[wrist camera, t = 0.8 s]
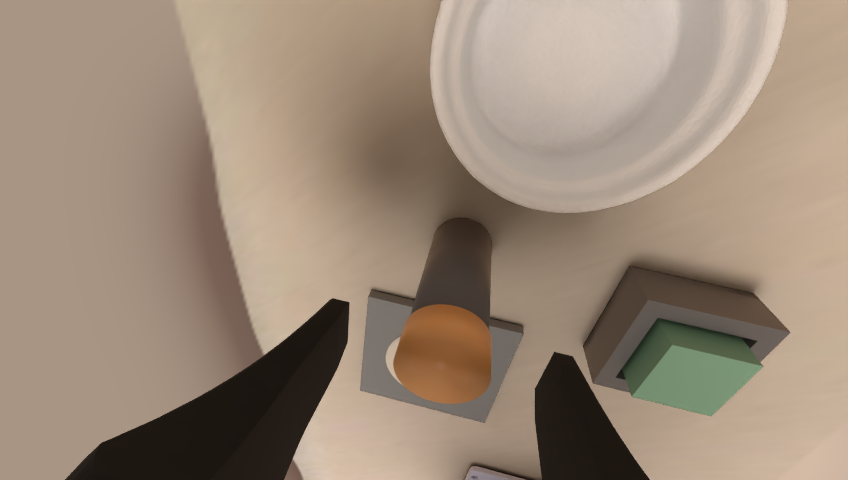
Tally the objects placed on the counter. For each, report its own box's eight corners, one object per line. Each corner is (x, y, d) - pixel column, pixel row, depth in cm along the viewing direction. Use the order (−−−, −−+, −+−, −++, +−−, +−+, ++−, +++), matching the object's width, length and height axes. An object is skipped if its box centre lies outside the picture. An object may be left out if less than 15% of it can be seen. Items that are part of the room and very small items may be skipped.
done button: (687, 373, 18) (711, 416, 16) (617, 356, 19) (631, 396, 17) (730, 324, 16) (763, 366, 14) (651, 305, 17) (672, 345, 15)
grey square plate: (484, 414, 25) (484, 424, 25) (362, 383, 26) (359, 391, 25) (522, 326, 20) (523, 335, 20) (371, 289, 21) (367, 297, 20)
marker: (485, 275, 19) (478, 412, 12) (426, 261, 19) (388, 390, 13) (501, 224, 17) (502, 352, 11) (436, 210, 18) (398, 326, 11)
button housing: (686, 371, 20) (709, 412, 18) (583, 346, 20) (592, 383, 18) (754, 293, 17) (790, 332, 15) (630, 266, 17) (647, 299, 15)
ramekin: (498, 199, 17) (498, 248, 13) (406, 2, 13) (372, -5, 10) (720, 112, 13) (803, 145, 10) (673, -182, 10) (773, -298, 6)
